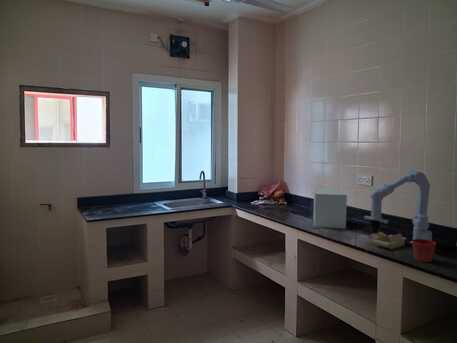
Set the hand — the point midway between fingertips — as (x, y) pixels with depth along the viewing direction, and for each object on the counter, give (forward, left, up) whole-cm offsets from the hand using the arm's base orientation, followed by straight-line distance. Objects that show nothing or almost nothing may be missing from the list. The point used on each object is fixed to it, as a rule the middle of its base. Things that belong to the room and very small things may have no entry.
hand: (375, 232), depth 209 cm
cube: (+46, -14, -6) cm, 48 cm away
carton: (-9, 0, -5) cm, 11 cm away
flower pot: (-33, +10, -6) cm, 35 cm away
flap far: (-2, 0, -1) cm, 2 cm away
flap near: (-13, 0, 0) cm, 13 cm away
